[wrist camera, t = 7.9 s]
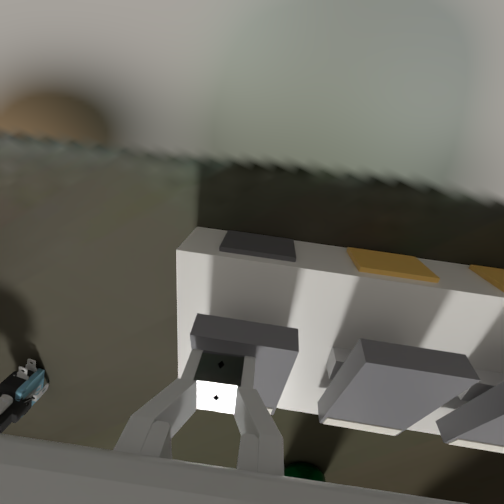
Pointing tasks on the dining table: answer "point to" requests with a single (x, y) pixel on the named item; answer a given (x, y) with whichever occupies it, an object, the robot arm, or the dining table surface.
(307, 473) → the soda can
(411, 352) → the middle rocker
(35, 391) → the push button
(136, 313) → the dining table surface
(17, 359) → the dining table surface
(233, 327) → the left rocker
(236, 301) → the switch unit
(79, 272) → the dining table surface
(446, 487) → the dining table surface
